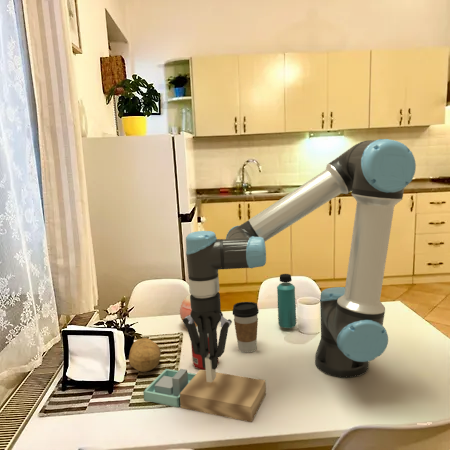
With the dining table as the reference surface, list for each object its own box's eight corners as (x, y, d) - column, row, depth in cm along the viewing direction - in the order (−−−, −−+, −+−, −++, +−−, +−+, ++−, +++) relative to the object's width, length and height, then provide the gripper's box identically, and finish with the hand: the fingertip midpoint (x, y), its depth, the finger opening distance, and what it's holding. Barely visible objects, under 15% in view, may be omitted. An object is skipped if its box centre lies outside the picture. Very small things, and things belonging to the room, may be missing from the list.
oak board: (265, 394, 110) (265, 380, 109) (251, 422, 99) (251, 407, 98) (200, 382, 117) (199, 369, 116) (180, 407, 106) (179, 393, 105)
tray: (199, 382, 117) (198, 374, 116) (179, 407, 106) (178, 398, 106) (166, 376, 121) (165, 368, 120) (144, 400, 110) (143, 391, 109)
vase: (180, 320, 161) (177, 276, 158) (215, 316, 162) (213, 273, 159) (181, 335, 148) (177, 288, 144) (219, 331, 149) (216, 284, 146)
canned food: (215, 371, 122) (213, 336, 120) (189, 369, 124) (187, 335, 122) (221, 358, 130) (219, 325, 128) (196, 357, 131) (194, 324, 129)
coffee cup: (252, 356, 130) (250, 311, 127) (229, 351, 134) (227, 307, 131) (264, 345, 137) (262, 302, 134) (242, 340, 141) (240, 298, 138)
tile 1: (163, 375, 117) (164, 382, 117) (154, 385, 112) (155, 392, 112) (179, 378, 115) (180, 385, 115) (170, 388, 110) (171, 395, 110)
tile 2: (187, 369, 113) (180, 368, 114) (178, 379, 109) (171, 378, 109) (188, 386, 114) (182, 385, 115) (180, 396, 110) (173, 395, 110)
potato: (157, 353, 135) (155, 330, 134) (166, 374, 122) (164, 349, 121) (126, 360, 132) (124, 336, 130) (132, 382, 119) (129, 356, 117)
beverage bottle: (298, 332, 145) (296, 277, 142) (279, 332, 145) (277, 278, 142) (295, 324, 152) (293, 271, 148) (277, 325, 152) (275, 272, 148)
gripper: (234, 289, 105) (239, 375, 109) (188, 286, 110) (195, 368, 114) (223, 300, 98) (229, 391, 102) (174, 296, 103) (182, 383, 107)
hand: (211, 379), depth 108 cm, fingers closed
